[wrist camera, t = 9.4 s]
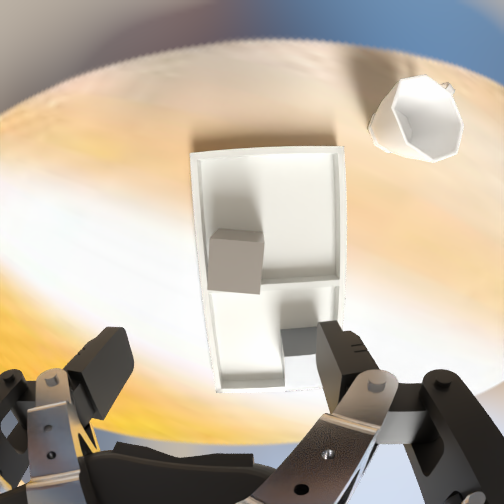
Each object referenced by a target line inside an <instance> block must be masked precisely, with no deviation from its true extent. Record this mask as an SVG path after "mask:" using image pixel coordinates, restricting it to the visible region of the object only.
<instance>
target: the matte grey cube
mask: <svg viewBox="0 0 504 504" xmlns="http://www.w3.org/2000/svg"><path fill="white" fill-rule="evenodd" d="M280 336H281V363H282V371H283V379H284V387H285V392H287V391H298V390H308V389H317V388H323V387H322V383H321V380H320V377H319V374H318V370H317V365H316V341H317V326H314V327H304V328H292V329H280Z"/></svg>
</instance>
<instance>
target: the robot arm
mask: <svg viewBox="0 0 504 504" xmlns="http://www.w3.org/2000/svg"><path fill="white" fill-rule="evenodd" d="M316 365H317V370H318V374H319V377H320V380H321V383H322V387H323V390H324V393H325V397H326V400H327V403H328V407H329V410H330V414H328V413H325V414H323V415H322V416H321V417H320V418H319V420H318V421H317V422H316V423H315V425H314V426H313V427H312V428H311V430H310V431H309V432H308V433H307V435H306V436H305V437H304V438H303V440H302V441H301V442H300V443H299V444H298V445H297V447H296V448H295V449H294V450H293V451H292V452H291V454H290V455H289V456H288V457H287V458H286V459H285V460H284V461H283V463H282V464H281V465H280V466H279V467H278V468H277V469H275V468H272V467H269V466H265V465H261V464H256V463H254V457H253V454H218V453H217V454H209V455H202V456H194V457H184V458H177V457H173V456H170V455H167V454H164V453H162V452H159V451H156V450H153V449H151V448H148V447H143V446H138V445H132V444H127V443H122V442H117V443H116V445H115V447H114V449H113V450H108V451H100V448H99V445H98V442H97V439H96V436H95V433H94V429H93V426H92V424H91V422H90V420H91V418H95V419H100V420H104V419H105V417H106V415H107V413H108V412H109V410H110V408H111V407H112V405H113V403H114V401H115V400H116V398H117V396H118V395H119V393H120V391H121V390H122V388H123V386H124V385H125V383H126V381H127V380H128V378H129V376H130V375H131V373H132V371H133V368H134V359H133V355H132V352H131V348H130V345H129V341H128V337H127V334H126V331H125V329H124V328H123V327H106V328H105V329H104V330H103V331H102V332H101V333H100V334H99V335H98V336H97V337H96V338H94V339H93V340H91V341H89V342H88V343H87V344H86V345H85V346H84V347H83V348H82V349H81V350H80V351H79V352H78V355H75V357H74V358H73V359H72V360H71V361H70V362H69V363H68V364H67V365H66V366H65V367H64V368H63V369H59V368H55V369H50V370H47V371H45V372H43V373H41V374H40V375H39V376H38V378H37V380H36V381H26V380H25V378H24V376H23V374H22V372H21V371H20V370H17V369H12V370H8V371H5V372H3V373H2V374H1V375H0V425H1V421H2V419H3V418H4V417H5V416H6V414H7V413H8V412H9V411H10V409H11V411H12V412H13V414H14V416H15V417H16V419H17V420H18V424H17V425H16V426H15V428H14V429H13V430H12V432H11V433H10V435H9V436H8V437H7V439H6V437H5V436H4V434H3V433H2V431H1V427H0V504H347V503H348V502H349V500H350V498H351V497H352V495H353V493H354V491H355V489H356V487H357V485H358V484H359V482H360V480H361V478H362V477H363V475H364V473H365V471H366V469H367V468H368V466H369V464H370V462H371V460H372V458H373V456H374V454H375V452H376V450H377V448H378V446H379V444H403V445H404V447H405V450H406V452H407V455H408V458H409V460H410V463H411V465H412V468H413V470H414V473H415V476H416V479H417V481H418V484H419V487H420V490H421V493H422V496H423V498H424V501H425V504H504V437H503V435H502V434H501V432H500V431H499V429H498V428H497V426H496V425H495V424H494V422H493V421H492V419H491V418H490V417H489V415H488V414H487V413H486V411H485V410H484V408H483V407H482V406H481V404H480V403H479V402H478V401H477V399H476V398H475V396H474V395H473V394H472V392H471V391H470V390H469V389H468V387H467V386H466V385H465V383H464V382H463V381H462V380H461V378H460V377H459V376H458V375H457V374H455V373H453V372H451V371H448V370H443V369H438V370H433V371H430V372H428V373H427V374H426V375H425V376H424V378H423V381H422V383H414V384H405V383H398V380H397V378H396V377H395V376H394V375H393V374H391V373H390V372H387V371H384V370H380V369H379V368H378V366H377V364H376V363H375V361H374V359H373V358H372V356H371V355H370V353H369V351H367V348H366V347H365V345H364V343H363V342H362V340H361V339H360V337H359V336H358V335H356V334H355V333H353V332H351V331H343V330H342V329H341V327H340V325H339V323H338V322H337V320H333V321H323V322H318V324H317V341H316ZM28 466H29V467H30V477H31V479H30V482H28V483H26V484H24V485H22V486H19V487H17V486H18V484H19V482H20V480H21V478H22V477H23V475H24V473H25V471H26V470H27V468H28Z"/></svg>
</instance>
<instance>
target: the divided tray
mask: <svg viewBox="0 0 504 504" xmlns="http://www.w3.org/2000/svg"><path fill="white" fill-rule="evenodd" d="M190 166H191V182H192V197H193V210H194V222H195V233H196V244H197V254H198V264H199V273H200V282H201V290H202V299H203V307H204V314H205V322H206V329H207V336H208V343H209V350H210V357H211V363H212V369H213V376H214V382H215V388H216V393H247V392H272V391H285V387H284V379H283V371H282V363H281V336H280V329H292V328H304V327H314V326H317V324H318V322H323V321H333V320H337V322H338V323H339V325H340V327H341V329H342V330H343V321H344V307H345V289H346V263H347V197H346V171H345V154H344V146H283V147H258V148H241V149H227V150H216V151H205V152H196V153H190ZM218 228H224V229H236V230H248V231H260V232H263V234H264V241H265V245H264V256H263V267H262V277H261V287H260V295H258V294H245V293H234V292H223V291H213V290H207V282H208V259H209V239H210V237H211V236H212V235H213V234H214V233H215V231H216V230H217V229H218Z"/></svg>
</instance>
